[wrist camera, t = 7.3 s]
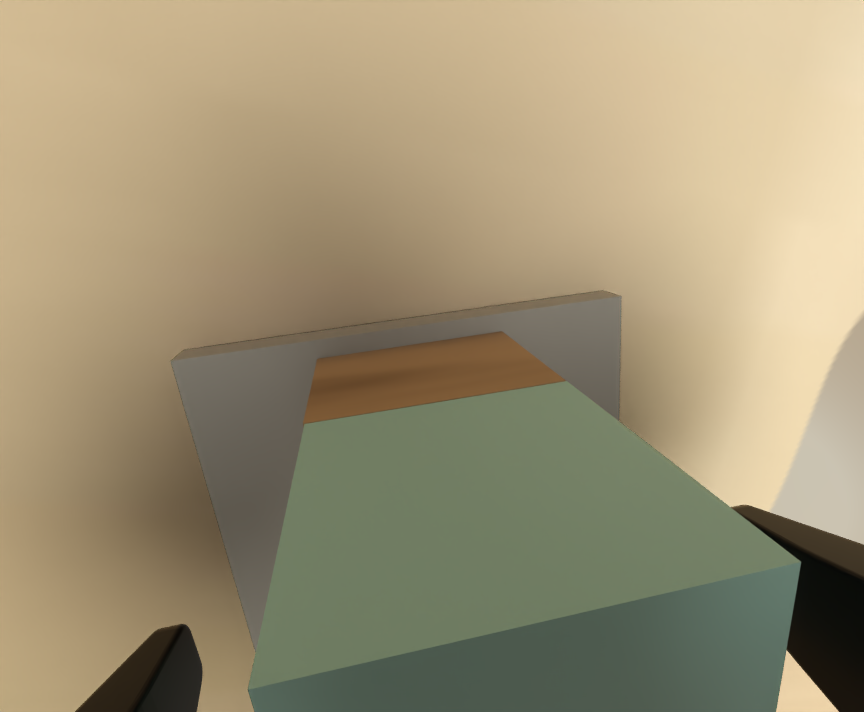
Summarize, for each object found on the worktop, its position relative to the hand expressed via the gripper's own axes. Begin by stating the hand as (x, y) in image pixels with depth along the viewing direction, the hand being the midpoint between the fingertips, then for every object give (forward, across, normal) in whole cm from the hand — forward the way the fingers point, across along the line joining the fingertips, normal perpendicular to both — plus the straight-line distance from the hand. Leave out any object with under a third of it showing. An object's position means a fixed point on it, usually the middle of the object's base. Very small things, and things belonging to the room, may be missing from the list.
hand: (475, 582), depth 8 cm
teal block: (+2, 0, 0) cm, 2 cm away
